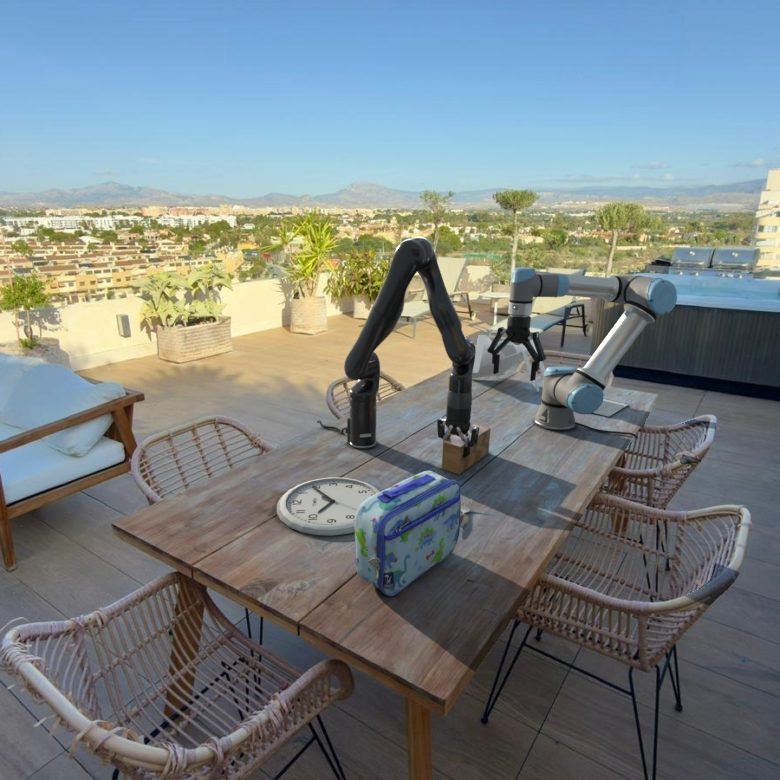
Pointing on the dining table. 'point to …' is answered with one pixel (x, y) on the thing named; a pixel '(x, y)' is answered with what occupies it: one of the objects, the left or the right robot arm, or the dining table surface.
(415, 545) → the lunch box
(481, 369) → the white plastic object
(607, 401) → the invitation card
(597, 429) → the right robot arm
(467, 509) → the fork
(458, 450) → the box
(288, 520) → the wall clock
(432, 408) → the dining table surface
